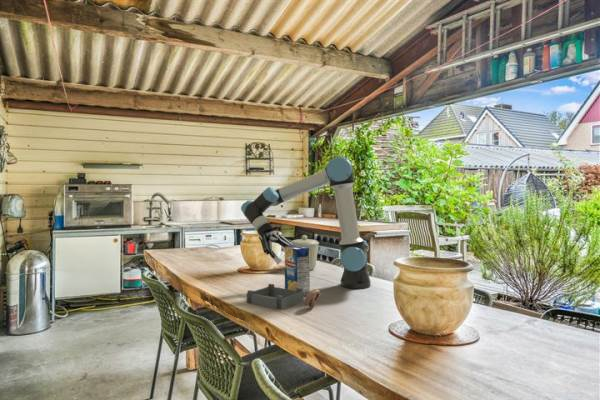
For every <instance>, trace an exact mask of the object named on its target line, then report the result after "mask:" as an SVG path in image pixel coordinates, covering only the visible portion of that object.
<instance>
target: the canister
mask: <svg viewBox="0 0 600 400" xmlns="http://www.w3.org/2000/svg"><path fill="white" fill-rule="evenodd" d="M289 242H290V243H292V246H302V247H307V248H310V271H312V270H315V268H316V267H317V259H318V249H319V244H320V242H318V240H316V239H311V238H310V239H309V238H308V236H307V234H303V235H302V236H301V238H298V239H294V240H292V241H289Z"/></svg>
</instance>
